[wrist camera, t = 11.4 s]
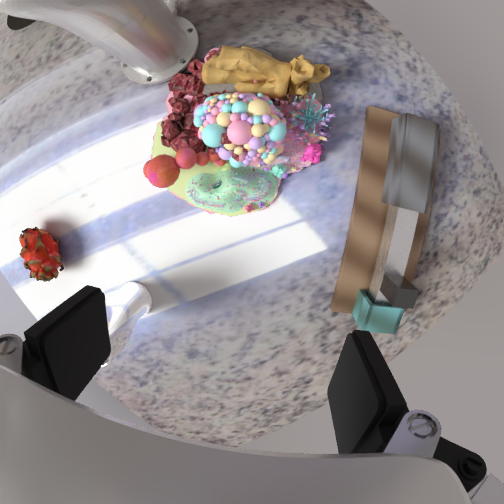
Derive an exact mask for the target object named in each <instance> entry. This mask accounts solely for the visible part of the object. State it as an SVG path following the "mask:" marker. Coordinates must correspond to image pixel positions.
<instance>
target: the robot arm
mask: <svg viewBox="0 0 504 504" xmlns="http://www.w3.org/2000/svg"><path fill="white" fill-rule="evenodd" d="M178 1H179V0H166V2H164V1H163V0H0V12H2V13H5V14H8V15H10V16H15V17H20V18H26V19H32V20H39V21H44V22H47V23H51V24H54V25H57V26H59V27H61V28H64V29H66V30H68V31H70V32H72V33H74V34H76V35H77V36H79V37H81V38H83V39H85V40H86V41H88V42H90V43H92V44H93V45H95V46H97V47H98V48H100V49H102V50H103V51H105V52H107V53H108V54H110V55H112V56H113V57H115V58H117V59H118V60H120V64H121V68H122V71H123V72H124V74H125V75H126V76H127V77H128V78H129V79H130V80H132V81H133V82H136V83H138V84H142V85H157V84H161V83H164V82H167V81H169V80H171V79H173V78H174V77H175V76H176V75H177V74H178V73H182V72H183V71H184V70H185V69H186V68H187V67H188V66H189V63H190V62H191V61H192V59H193V58H194V57H195V55H196V53H197V50H198V46H199V36H198V33H197V30H196V29H195V27H194V25H193V24H192V23H191V22H190V21H189V20H187V19H185V18H183V17H180V16H177V9H176V6H177V4H178ZM184 62H185V63H184ZM183 63H184V64H183ZM151 79H152V80H151ZM150 80H151V81H150ZM24 335H25V338H26V340H25V341H24V342H23V341H22V339H21V338H20V337H19V336H17V335H14V334H5V335H1V336H0V504H504V483H502V482H501V481H500V480H499V479H498V478H496V477H495V476H494V475H493V474H491V473H490V474H489V475H488V476H487V475H486V470H487V469H486V464H485V462H484V460H483V459H482V458H481V457H480V456H479V455H478V454H476V453H474V452H471V451H469V450H467V449H465V448H463V447H461V446H459V445H456V444H455V443H452V442H450V441H448V440H446V439H444V438H442V437H440V435H441V429H442V428H441V425H440V422H439V421H438V419H437V418H436V417H435V416H434V415H432V414H430V413H429V412H426V411H423V410H413V411H410V412H409V410H408V407H407V404H406V402H405V399H404V397H403V395H402V393H401V391H400V389H399V387H398V385H397V383H396V381H395V379H394V377H393V375H392V373H391V371H390V369H389V368H388V366H387V363H386V361H385V359H384V358H383V356H382V354H381V352H380V350H379V348H378V346H377V344H376V342H375V341H374V339H373V337H372V335H371V333H370V332H369V331H365V330H354V331H353V332H352V333H349V334H348V335H347V337H346V340H345V343H344V346H343V349H342V352H341V354H340V357H339V360H338V363H337V365H336V368H335V371H334V373H333V376H332V379H331V381H330V384H329V386H328V399H329V404H330V409H331V414H332V419H333V424H334V429H335V435H336V440H337V446H338V452H339V454H304V453H283V452H270V451H259V450H251V449H242V448H236V447H229V446H223V445H217V444H211V443H206V442H201V441H196V440H191V439H187V438H183V437H178V436H174V435H170V434H166V433H163V432H159V431H155V430H152V429H149V428H145V427H142V426H138V425H135V424H132V423H129V422H126V421H124V420H121V419H118V418H115V417H112V416H109V415H107V414H104V413H101V412H99V411H96V410H94V409H91V408H89V407H87V406H84V405H82V404H79V403H77V402H75V400H76V399H77V397H78V396H79V395H80V393H81V392H82V391H83V389H84V388H85V387H86V385H87V384H88V383H89V382H90V380H91V379H92V378H93V376H94V375H95V374H96V373H97V371H98V370H99V369H100V367H101V366H102V365H103V364H104V362H105V361H106V360H107V359H108V357H109V356H110V353H111V344H110V337H109V330H108V322H107V313H106V303H105V295H104V293H102V291H101V289H100V288H97V287H93V286H88V285H87V286H85V287H84V288H82V289H81V290H79V291H78V292H77V293H75V294H74V295H73V296H71V297H70V298H68V299H67V300H66V301H64V302H63V303H62V304H60V305H59V306H58V307H56V308H55V309H54V310H52V311H51V312H50V313H48V314H47V315H46V316H44V317H43V318H42V319H40V320H39V321H38V322H37V323H35V324H34V325H33V326H31V327H30V328H29V329H28V330H26V331H25V332H24Z"/></svg>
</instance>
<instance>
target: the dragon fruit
mask: <svg viewBox="0 0 504 504" xmlns="http://www.w3.org/2000/svg"><path fill="white" fill-rule="evenodd" d="M22 232H23V235H22V234H21V235H20V237H19V240H20V243H21V245H22V247H23V248H22V250H21V253H20V255H21V257H22V258H23V259H25V262H24V266H25V268H26V269H29V270H31V272H30V278H36V279H37V281H39V280H43V281H45V282H46V281H50V280H51V279H53V277H55V278H57V276H58V274H59V272H58V270H57V268H58V267H59V266H60V267H61V269H60V270H59V271H62V270H63V269H64V266H63V263H62V259H61V257H62V256H61V255H60V254H59V249H58V248H59V242H60V240H59V239H56V240H55V241H56V242H55V241H54V240H53V238H52V237H51V235H50V234H49V233H47V232H45V231H44V230H41V229H38V228H37V227H35V228H33V229H31V228H27V229H25V230H23V231H22Z"/></svg>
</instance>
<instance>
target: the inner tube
mask: <svg viewBox="0 0 504 504" xmlns="http://www.w3.org/2000/svg"><path fill="white" fill-rule="evenodd" d="M418 214H419V212H416V211H412V210H408V209H404V208H400V207H396V206H392V205H389V207H388V212H387V217H386V222H385V227H384V232H383V236H382V241H381V245H380V249H379V253H378V258H377V262H376V265H375V269H374V273H373V277H372V280H371V284H370V288H369V291H368V295H367V297H368V298H369V300H370V301H371V303H372V304H379V305H388V306H393V307H401V308H412V309H413V307H414V304H415V301H416V298H417V295H418V292H419V290H418V289H417V288H416V287H415V286H413V285H412V284H411V283H410V282H409V281H408V280H407V279H406V278H405V277H403V276H404V272H405V269H406V265H407V261H408V258H409V254H410V250H411V246H412V242H413V238H414V233H415V229H416V224H417V219H418Z"/></svg>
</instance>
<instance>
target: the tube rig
mask: <svg viewBox="0 0 504 504" xmlns="http://www.w3.org/2000/svg"><path fill="white" fill-rule="evenodd" d="M439 143H440V129H439V125H438V124H435V123H433V122H430V121H428V120H425V119H423V118H420V117H417V116H415V115H412V114H409V113H406V114H403V115H399V114H396V113H393V112H390V111H387V110H383V109H380V108H377V107H373V106H368V107H367V108H366V118H365V128H364V136H363V145H362V152H361V160H360V167H359V174H358V180H357V186H356V192H355V198H354V204H353V209H352V215H351V220H350V225H349V230H348V235H347V240H346V245H345V249H344V254H343V258H342V263H341V267H340V271H339V275H338V280H337V284H336V288H335V292H334V296H333V299H332V303H331V309H332V311H334V312H343V313H352V314H353V316H354V318H355V320H356V322H357V324H358V326H359V328H360V330H365V331H369V332H375V333H391V334H396V332H397V329H398V326H399V324H400V321H401V318H402V316H403V313H404V310H405V308H401V307H393V306H388V305H379V304H372V303H371V301H370V300H369V298H368V297H367V295H368V291H369V288H370V284H371V280H372V277H373V273H374V269H375V265H376V262H377V258H378V253H379V249H380V245H381V241H382V236H383V232H384V227H385V222H386V217H387V212H388V207H389V205H392V206H396V207H400V208H404V209H408V210H412V211H416V212H419V214H418V219H417V224H416V229H415V233H414V238H413V242H412V246H411V250H410V254H409V258H408V261H407V265H406V269H405V272H404V276H403V277H405V278H406V279H407V280H408V281H409V282H410V283H411V284H412V281H413V278H414V275H415V271H416V268H417V264H418V260H419V257H420V253H421V249H422V245H423V241H424V237H425V232H426V228H427V223H428V218H429V213H430V208H431V203H432V197H433V191H434V185H435V178H436V171H437V163H438V154H439Z"/></svg>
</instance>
